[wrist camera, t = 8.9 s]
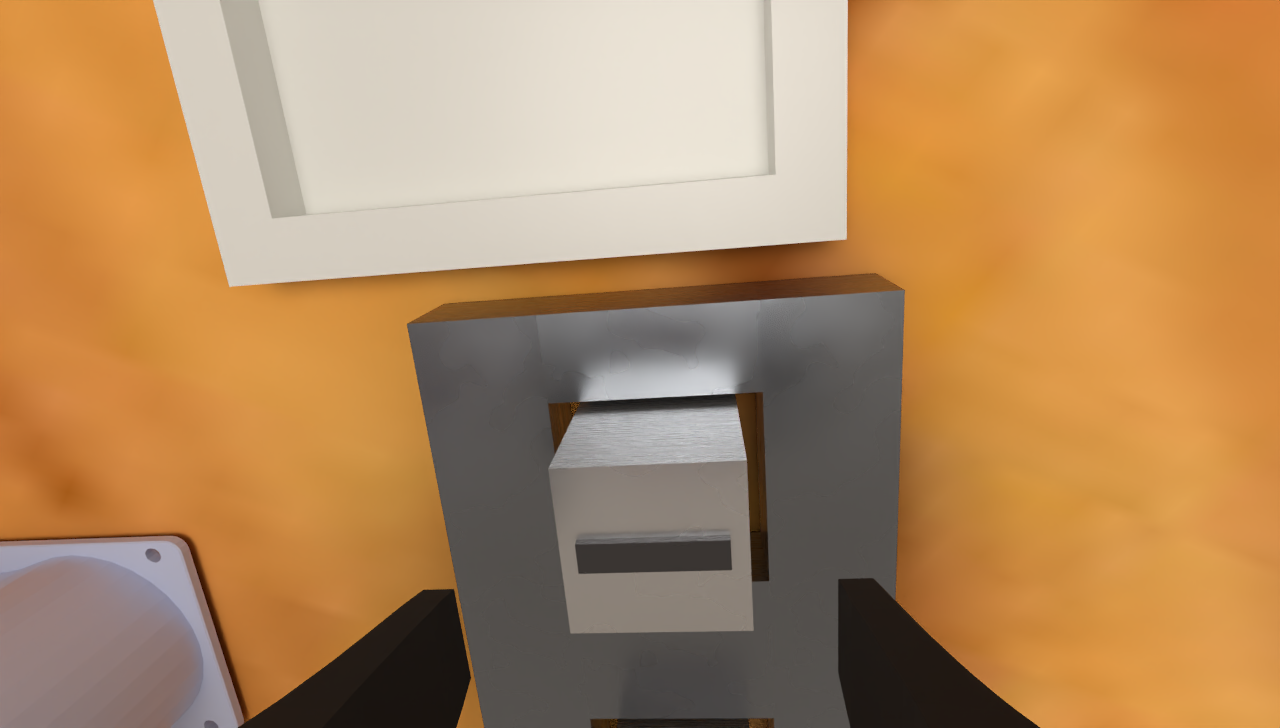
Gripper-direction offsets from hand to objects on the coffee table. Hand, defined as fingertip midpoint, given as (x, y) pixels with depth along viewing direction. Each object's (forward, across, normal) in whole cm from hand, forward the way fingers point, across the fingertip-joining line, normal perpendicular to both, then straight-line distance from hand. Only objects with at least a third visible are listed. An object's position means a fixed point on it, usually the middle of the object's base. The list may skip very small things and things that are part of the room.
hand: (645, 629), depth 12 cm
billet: (+8, 0, 0) cm, 8 cm away
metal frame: (+8, 0, +5) cm, 9 cm away
